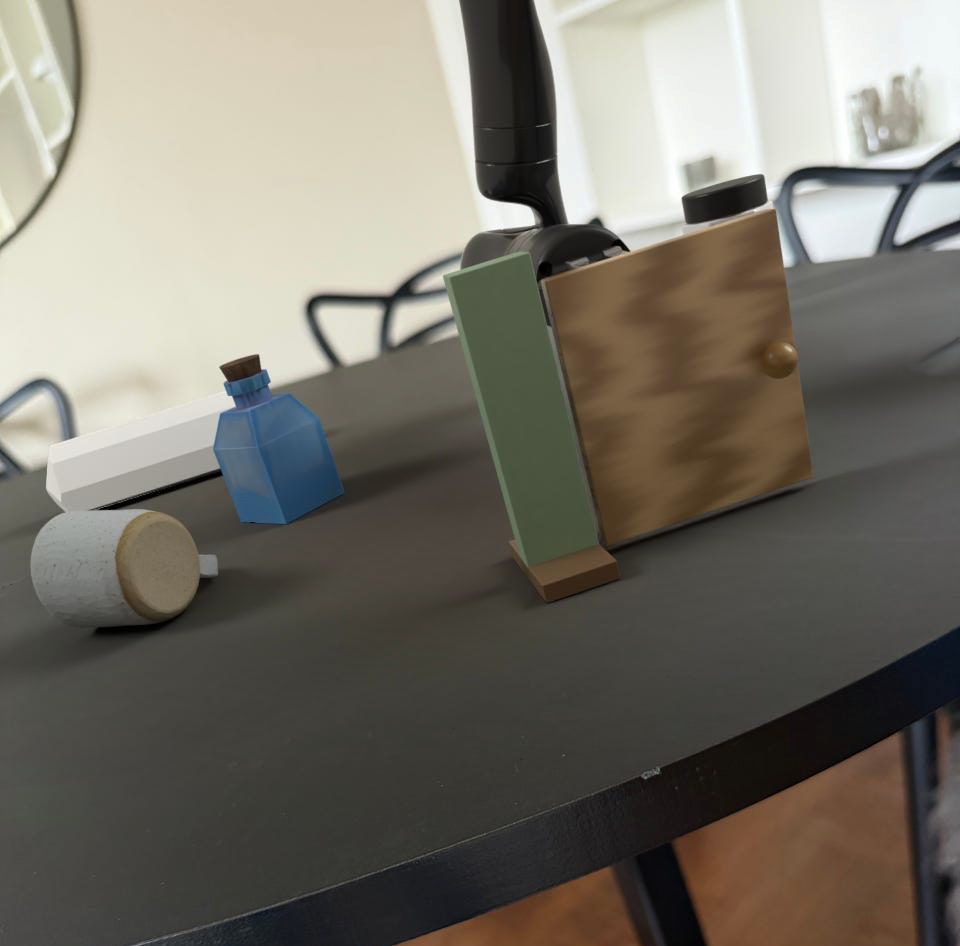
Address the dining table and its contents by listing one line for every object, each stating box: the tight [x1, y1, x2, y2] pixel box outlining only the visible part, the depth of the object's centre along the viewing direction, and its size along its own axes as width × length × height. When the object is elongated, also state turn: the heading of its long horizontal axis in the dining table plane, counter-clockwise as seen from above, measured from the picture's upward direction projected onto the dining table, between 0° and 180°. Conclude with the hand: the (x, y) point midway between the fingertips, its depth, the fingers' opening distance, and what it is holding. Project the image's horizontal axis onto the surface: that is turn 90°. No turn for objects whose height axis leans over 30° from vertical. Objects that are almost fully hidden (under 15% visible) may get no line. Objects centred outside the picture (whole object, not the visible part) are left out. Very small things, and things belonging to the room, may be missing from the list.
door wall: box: [442, 252, 622, 604], centre depth 52 cm, size 4×8×16 cm, turn 12°
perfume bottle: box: [213, 353, 346, 525], centre depth 80 cm, size 6×6×12 cm
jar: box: [681, 173, 774, 235], centre depth 104 cm, size 9×8×12 cm
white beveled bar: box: [45, 390, 236, 513], centre depth 103 cm, size 7×7×24 cm
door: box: [541, 208, 814, 547], centre depth 52 cm, size 12×3×14 cm, turn 102°
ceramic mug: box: [29, 508, 219, 629], centre depth 67 cm, size 11×8×8 cm
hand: (647, 292), depth 61 cm, fingers closed
